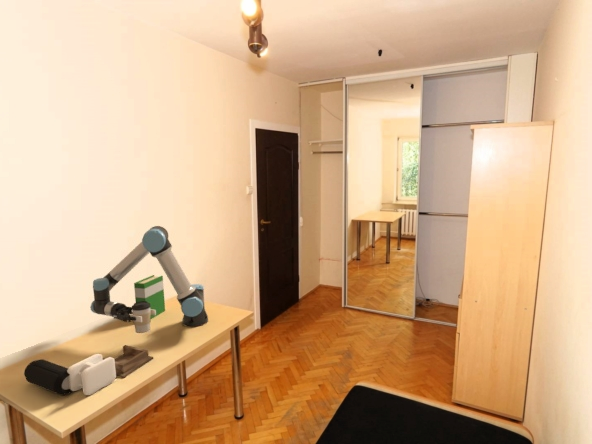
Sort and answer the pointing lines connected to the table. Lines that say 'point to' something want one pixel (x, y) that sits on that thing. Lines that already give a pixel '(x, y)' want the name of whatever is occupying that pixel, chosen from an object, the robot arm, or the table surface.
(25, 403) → the table surface
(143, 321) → the coffee cup
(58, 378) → the portable speaker
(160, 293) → the hardback book
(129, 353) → the brown wooden tray
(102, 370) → the cable organizer
